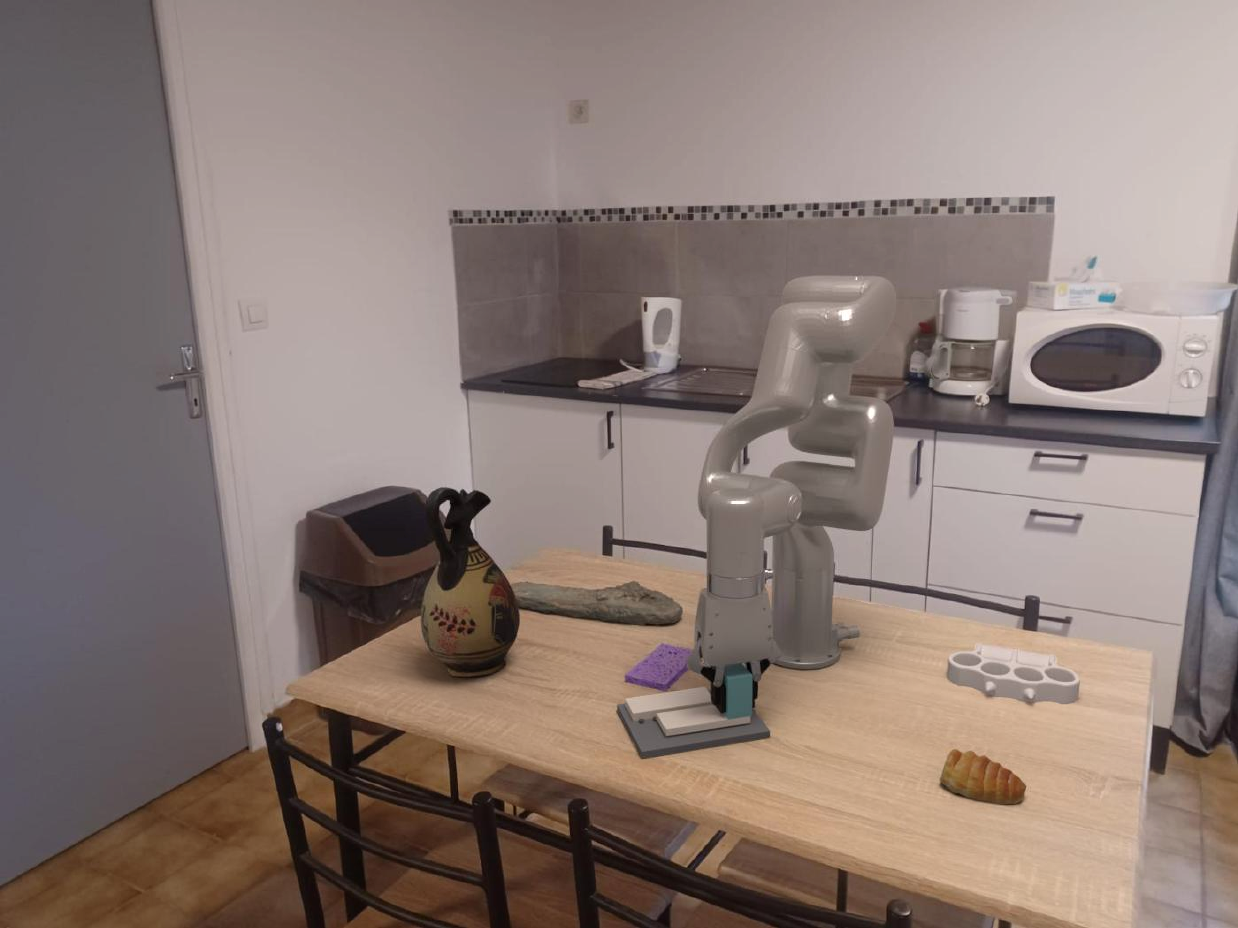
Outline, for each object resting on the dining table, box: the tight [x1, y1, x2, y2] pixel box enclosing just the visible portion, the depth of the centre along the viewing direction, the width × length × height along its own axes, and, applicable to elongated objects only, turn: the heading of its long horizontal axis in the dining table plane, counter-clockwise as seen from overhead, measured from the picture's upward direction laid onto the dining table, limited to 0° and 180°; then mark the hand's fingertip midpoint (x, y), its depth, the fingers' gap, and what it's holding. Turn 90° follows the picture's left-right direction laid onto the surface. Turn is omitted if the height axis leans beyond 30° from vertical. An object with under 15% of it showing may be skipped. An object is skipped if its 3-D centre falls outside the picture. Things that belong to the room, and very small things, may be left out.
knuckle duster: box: [946, 642, 1081, 705], centre depth 140 cm, size 3×18×15 cm
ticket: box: [624, 686, 713, 724], centre depth 132 cm, size 12×5×1 cm, turn 104°
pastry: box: [939, 748, 1027, 805], centre depth 113 cm, size 9×7×4 cm
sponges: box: [624, 642, 694, 692], centre depth 146 cm, size 7×13×2 cm, turn 150°
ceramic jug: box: [420, 486, 521, 678], centre depth 145 cm, size 17×15×30 cm
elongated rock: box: [510, 580, 683, 626], centre depth 170 cm, size 35×5×10 cm
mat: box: [616, 690, 771, 760], centre depth 130 cm, size 18×13×1 cm
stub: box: [657, 663, 753, 736], centre depth 127 cm, size 12×4×7 cm, turn 104°
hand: (734, 704), depth 129 cm, fingers closed on stub, 3 cm apart
